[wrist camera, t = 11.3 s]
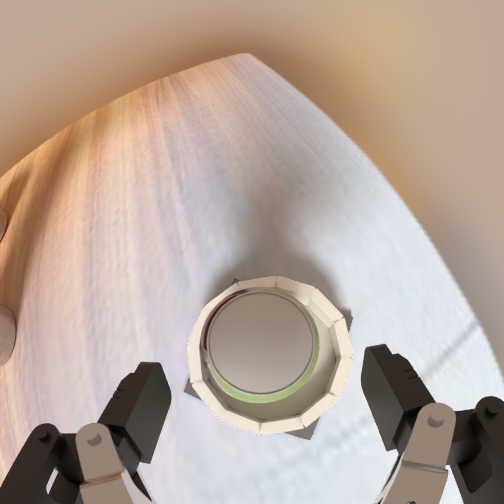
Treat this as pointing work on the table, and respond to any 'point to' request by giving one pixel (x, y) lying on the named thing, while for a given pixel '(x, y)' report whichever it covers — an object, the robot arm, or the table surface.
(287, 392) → the beverage can
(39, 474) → the robot arm
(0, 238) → the planter
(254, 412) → the bowl
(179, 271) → the table surface
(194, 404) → the table surface
